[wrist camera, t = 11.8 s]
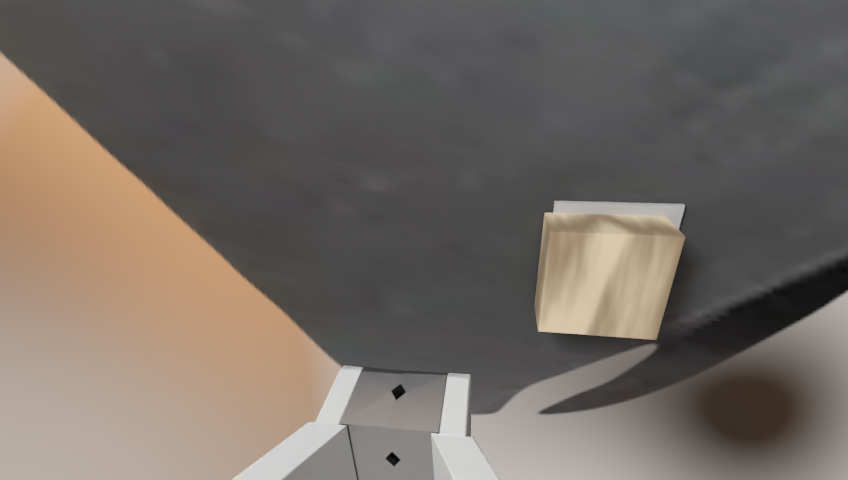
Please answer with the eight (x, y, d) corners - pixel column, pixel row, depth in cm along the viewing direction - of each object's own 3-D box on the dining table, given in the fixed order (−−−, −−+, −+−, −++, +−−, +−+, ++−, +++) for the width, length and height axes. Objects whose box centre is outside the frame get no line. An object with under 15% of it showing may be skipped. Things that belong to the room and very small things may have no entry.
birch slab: (544, 212, 36) (665, 216, 35) (534, 305, 41) (641, 312, 39) (550, 231, 33) (685, 236, 31) (538, 331, 37) (656, 339, 36)
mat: (683, 203, 35) (685, 205, 34) (652, 319, 40) (653, 321, 40) (554, 200, 36) (555, 202, 36) (541, 312, 41) (541, 314, 41)
